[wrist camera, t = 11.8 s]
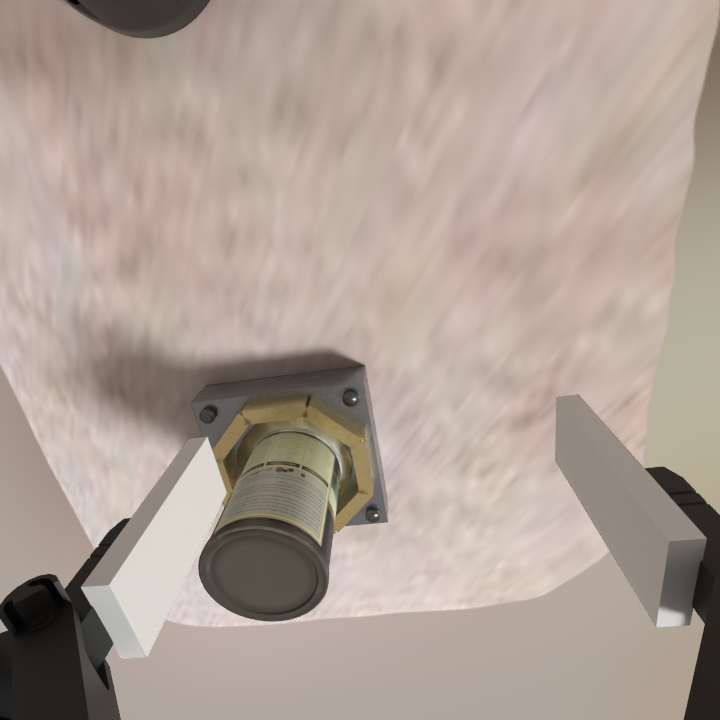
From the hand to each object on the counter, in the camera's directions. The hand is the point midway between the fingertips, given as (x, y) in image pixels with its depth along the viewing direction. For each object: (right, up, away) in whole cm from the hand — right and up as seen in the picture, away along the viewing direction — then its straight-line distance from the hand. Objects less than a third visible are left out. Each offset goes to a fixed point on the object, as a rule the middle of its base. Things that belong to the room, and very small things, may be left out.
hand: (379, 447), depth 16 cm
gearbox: (-8, -7, +34) cm, 36 cm away
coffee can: (-8, -8, +31) cm, 33 cm away
